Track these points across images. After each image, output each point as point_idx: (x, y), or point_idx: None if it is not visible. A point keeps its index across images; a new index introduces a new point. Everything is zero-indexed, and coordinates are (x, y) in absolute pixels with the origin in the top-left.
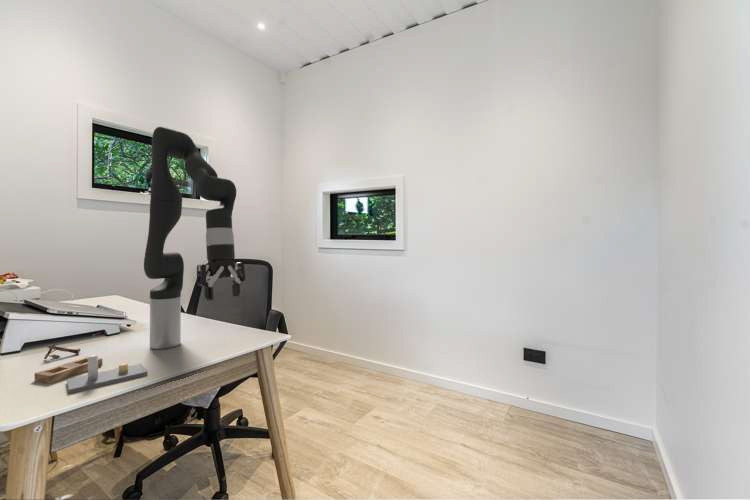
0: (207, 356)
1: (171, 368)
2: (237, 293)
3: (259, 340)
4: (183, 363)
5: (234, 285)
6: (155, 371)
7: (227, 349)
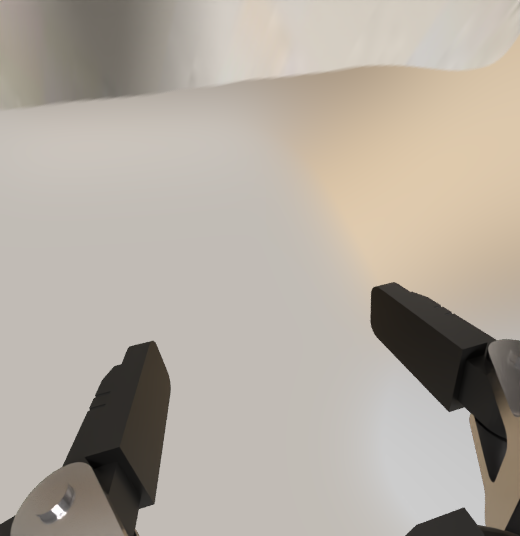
0: (227, 41)
1: (85, 65)
2: (386, 343)
3: (446, 23)
4: (133, 44)
5: (443, 373)
6: (24, 45)
7: (315, 22)
